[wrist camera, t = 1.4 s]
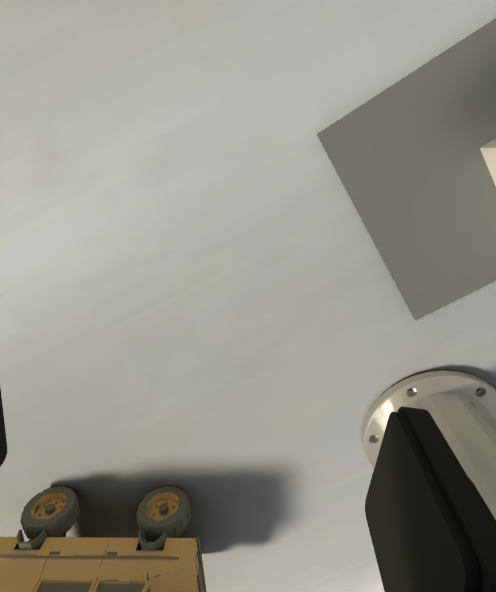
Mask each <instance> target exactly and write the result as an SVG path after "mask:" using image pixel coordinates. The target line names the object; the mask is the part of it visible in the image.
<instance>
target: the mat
mask: <svg viewBox="0 0 496 592" xmlns="http://www.w3.org/2000/svg"><path fill="white" fill-rule="evenodd" d="M317 136H318V138H319V140H320V141H321V143H322V145H323V147H324V149H325V151H326V153H327V155H328V157H329V158H330V160H331V162H332V164H333V166H334V168H335V170H336V172H337V174H338V176H339V177H340V179H341V181H342V183H343V185H344V187H345V189H346V191H347V193H348V194H349V196H350V198H351V200H352V202H353V204H354V206H355V208H356V210H357V211H358V213H359V215H360V217H361V219H362V221H363V223H364V225H365V227H366V228H367V230H368V232H369V234H370V236H371V238H372V240H373V242H374V244H375V245H376V247H377V249H378V251H379V253H380V255H381V257H382V259H383V261H384V263H385V264H386V266H387V268H388V270H389V272H390V274H391V276H392V278H393V280H394V281H395V283H396V285H397V287H398V289H399V291H400V293H401V295H402V297H403V298H404V300H405V302H406V304H407V306H408V308H409V310H410V312H411V314H412V315H413V317H414V318H415V320H417V319H419V318H422V317H424V316H426V315H428V314H430V313H432V312H434V311H436V310H438V309H440V308H442V307H444V306H446V305H448V304H450V303H452V302H454V301H456V300H458V299H460V298H462V297H464V296H466V295H468V294H470V293H472V292H474V291H476V290H478V289H480V288H482V287H484V286H486V285H488V284H490V283H492V282H494V281H496V186H495V184H494V181H493V179H492V176H491V174H490V171H489V169H488V167H487V164H486V162H485V159H484V157H483V154H482V152H481V150H480V148H481V147H482V146H484V145H486V144H487V143H489V142H491V141H493V140H494V139H496V19H494V20H493V21H491V22H490V23H488V24H487V25H485V26H484V27H482V28H480V29H479V30H477V31H476V32H474V33H473V34H471V35H470V36H468V37H467V38H465V39H463V40H462V41H460V42H459V43H457V44H456V45H454V46H453V47H451V48H450V49H448V50H446V51H445V52H443V53H442V54H440V55H439V56H437V57H436V58H434V59H433V60H431V61H429V62H428V63H426V64H425V65H423V66H422V67H420V68H419V69H417V70H416V71H414V72H413V73H411V74H409V75H408V76H406V77H405V78H403V79H402V80H400V81H399V82H397V83H396V84H394V85H392V86H391V87H389V88H388V89H386V90H385V91H383V92H382V93H380V94H379V95H377V96H375V97H374V98H372V99H371V100H369V101H368V102H366V103H365V104H363V105H362V106H360V107H358V108H357V109H355V110H354V111H352V112H351V113H349V114H348V115H346V116H345V117H343V118H341V119H340V120H338V121H337V122H335V123H334V124H332V125H331V126H329V127H328V128H326V129H325V130H323V131H321V132H320V133H318V134H317Z"/></svg>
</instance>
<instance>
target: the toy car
mask: <svg viewBox="0 0 496 592" xmlns="http://www.w3.org/2000/svg"><path fill="white" fill-rule="evenodd" d="M191 512H192V511H191V506H190V499H189V498H188V496H187V494H186V493H185V492H184V491H183V490H181V489H179V488H177V487H174V486H164V487H160V488H156V489H154V490H152V491H151V492H149V493H148V494H146V495H145V497H144V498H143V499H142V500H141V501H140V504H139V506H138V508H137V514H136V517H137V523H138V528H139V532H138V538H88V537H66V532H67V531H68V530H70V529H71V527H72V526H73V525H74V524H75V522H76V520H77V518H78V516H79V513H80V505H79V501H78V498H77V494H76V493H75V492H74V491H73V490H72V489H70V488H68V487H64V486H61V487H52V488H49V489H47V490H44V491H43V492H41V493H39V494H37V495H36V496H35V497H34V498H32V499H31V500H30V501H29V502H28V503H27V505H26V506H25V507H24V511H23V513H22V516H21V524H22V527H23V530H24V531H25V534H26V536H27V538H29V539H30V540H29V541H28V542H24V538H23V534H22V530H19V532H18V535H17V537H0V592H206V585H205V577H204V570H203V562H202V554H201V546H200V539H199V536H196V538H177V537H178V536H179V535H180V534H181V533H183V532H184V531H185V529H186V527H187V525H188V524H189V521H190V517H191ZM141 534H142V535H143V536H144V537H145V538H146V539H147V540H146V542H143V541H142V536H141Z"/></svg>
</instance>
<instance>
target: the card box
mask: <svg viewBox="0 0 496 592" xmlns="http://www.w3.org/2000/svg"><path fill="white" fill-rule="evenodd" d="M480 150H481V152H482V154H483V157H484V159H485V162H486V164H487V167H488V169H489V171H490V174H491V176H492V179H493V181H494V184H495V186H496V139H494V140H493V141H491V142H489V143H487V144H486V145H484V146H482V147H481V148H480Z"/></svg>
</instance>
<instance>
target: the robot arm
mask: <svg viewBox="0 0 496 592" xmlns="http://www.w3.org/2000/svg"><path fill="white" fill-rule="evenodd" d="M362 441H363V445H364V450H365V453H366V456H367V458H368V461H369V463H370V465H371V466H372V468H373V469H374V472H373V475H372V479H371V483H370V486H369V490H368V493H367V497H366V502H365V513H366V519H367V523H368V527H369V531H370V535H371V539H372V543H373V547H374V551H375V555H376V559H377V563H378V567H379V571H380V575H381V579H382V583H383V586H384V590H385V592H496V389H495V388H494V387H492V386H491V385H490V384H488V383H487V382H486V381H484V380H482V379H480V378H478V377H476V376H473V375H470V374H466V373H463V372H458V371H445V370H444V371H432V372H426V373H422V374H418V375H414V376H412V377H410V378H407V379H405V380H402V381H400V382H399V383H397V384H396V385H394V386H392V387H391V388H389V389H388V390H387V391H386V392H385V393H383V394H382V395H381V396H380V397H379V398H378V399H377V401H376V402H375V403H374V404H373V406H372V407H371V409H370V411H369V413H368V414H367V416H366V418H365V422H364V426H363V436H362ZM6 455H7V442H6V434H5V425H4V416H3V407H2V398H1V390H0V467H1V465H2V464H3V462H4V460H5V458H6Z"/></svg>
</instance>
